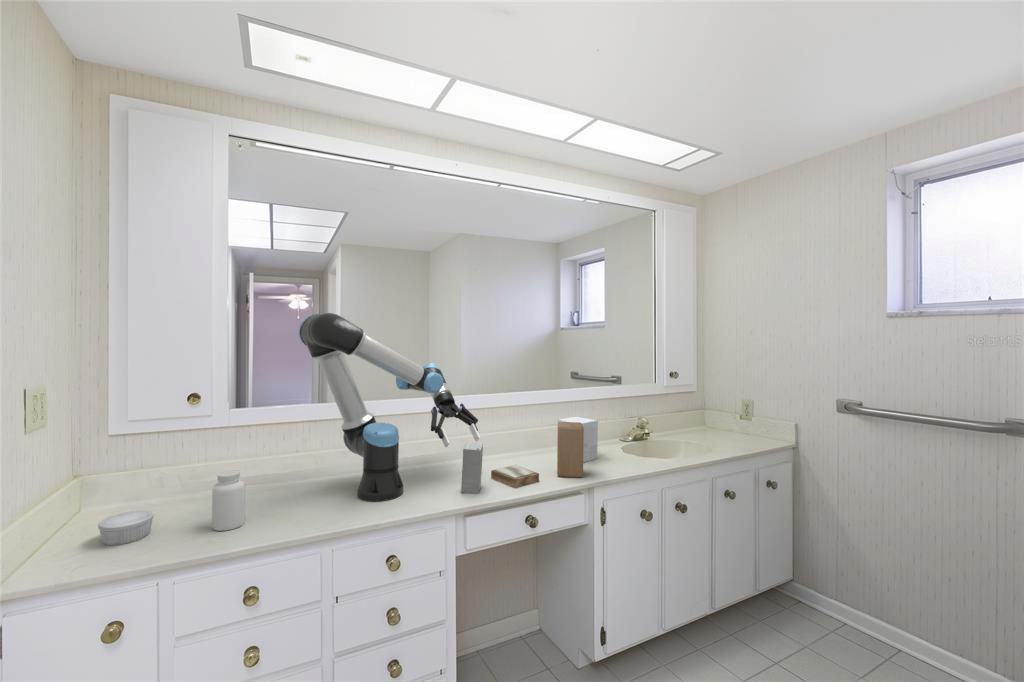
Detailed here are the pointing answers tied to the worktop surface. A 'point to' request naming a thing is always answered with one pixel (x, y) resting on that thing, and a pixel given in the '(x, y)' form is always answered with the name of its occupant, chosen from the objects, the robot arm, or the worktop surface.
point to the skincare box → (472, 468)
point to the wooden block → (570, 449)
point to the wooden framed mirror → (514, 476)
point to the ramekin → (125, 527)
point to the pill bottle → (228, 501)
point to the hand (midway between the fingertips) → (463, 442)
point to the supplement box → (587, 436)
